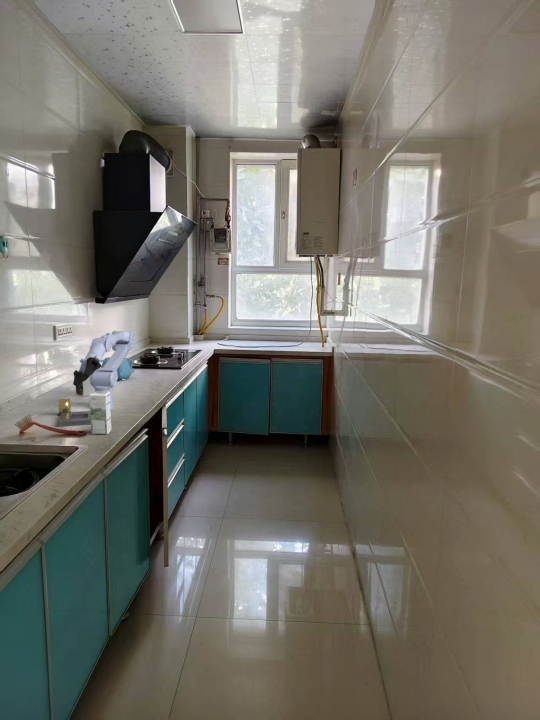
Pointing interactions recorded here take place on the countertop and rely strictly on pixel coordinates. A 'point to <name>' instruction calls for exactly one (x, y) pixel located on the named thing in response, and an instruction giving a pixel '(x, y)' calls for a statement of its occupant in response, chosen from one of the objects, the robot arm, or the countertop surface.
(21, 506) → the countertop surface
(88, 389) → the medicine bottle
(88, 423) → the steel plate
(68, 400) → the hub peg
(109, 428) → the syrup box
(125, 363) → the decorative pot
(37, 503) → the countertop surface
